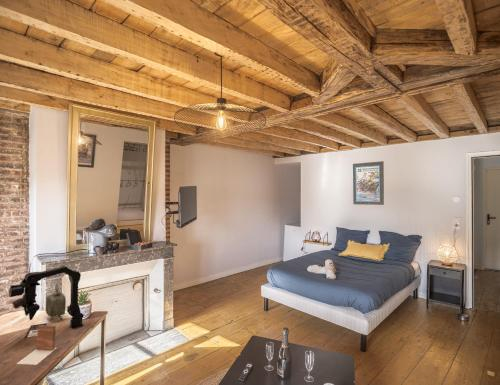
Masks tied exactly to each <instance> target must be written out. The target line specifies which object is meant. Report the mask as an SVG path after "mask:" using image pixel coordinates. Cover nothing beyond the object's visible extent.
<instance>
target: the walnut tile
mask: <svg viewBox="0 0 500 385" xmlns="http://www.w3.org/2000/svg"><path fill="white" fill-rule="evenodd" d="M56 328H57V326H56V325H51V324H50V325H48V324H46V325H39V326H38V334H37V336H36V337H37V339H36V349H37V350H54V349H55V348H56V331H57V330H56ZM55 350H56V349H55ZM55 350H54V351H55Z"/></svg>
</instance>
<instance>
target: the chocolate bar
mask: <svg viewBox="0 0 500 385" xmlns="http://www.w3.org/2000/svg"><path fill="white" fill-rule="evenodd" d="M39 325H48V324H47V322H45V323H39V324H38V323H37V324H31V325H30V326H29V328H28V330H27V332H26V334H25V336H24V339H27V338H30V337H32V338H33V337H37V334H38V326H39Z"/></svg>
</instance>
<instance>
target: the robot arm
mask: <svg viewBox="0 0 500 385" xmlns="http://www.w3.org/2000/svg"><path fill="white" fill-rule="evenodd" d="M61 274H66V275H67V276H68V280H69V283H70V303H69V305H67V307H66V309H67V311H66V312H67V313H68V315H70V316H71V318H70V320H69V326H70V327H71V328H72V329H77V328H79V327H82V326H84V325H83V318H84V314H83V313H82V312H81V307H80V305H79V283H80V281H81V276H82V274H81V272H79V271H78V270H75V269H71V268H69V267H67V266H66V265H62V266H59V267H55V268H51V269H47V270H43V271H32V272H31V271H30V272H28V273H26V274H25V275H24V278H23V279H22V280H21V281H20V283H19V284H12V285H10V287H9V290H8V297H9V298H12V297H18V296H22V297H20V298H18V299H17V300H14V301H12V303H11V304H12V306H13V308H14V309H16V310H17V309H19V307H22V308H23V312H24V315H25V316H28V319H29V321H32V320H33V319H34V317H35V315H36V314H37V312H38V311H39V310H40V307H41V306H40V304H38V303H37V300H36V299H37V298H36V297H37V286H41V283H40V282H39V281H41V280H44V279H45V278H49V277H53V276H58V275H61Z"/></svg>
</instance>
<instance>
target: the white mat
mask: <svg viewBox="0 0 500 385" xmlns="http://www.w3.org/2000/svg"><path fill="white" fill-rule="evenodd" d="M56 349H57V347H55V349H54V350H37V348H36V349H34V350H33V351H32V352H30V353H29V354H28V355H26V356H25V357H24V358H23V357H22V359H21V360H20V361H18V362H17V363H16V365H34V366H35V365H38V364H39V363H41V362H42V361H43V360H44V359H45V358H46V357H48V356H49V355H50V354H52V352H54V351H55V350H56Z"/></svg>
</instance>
